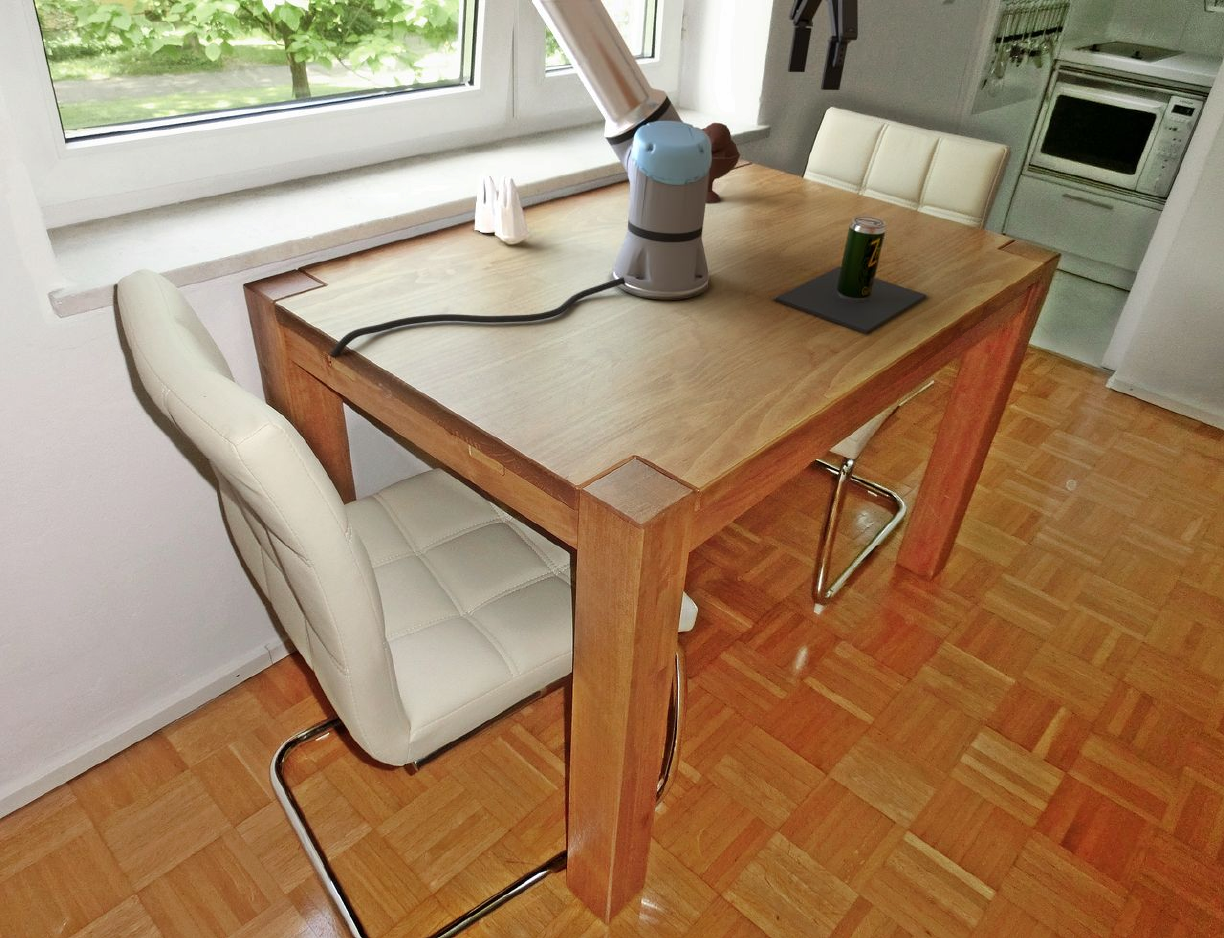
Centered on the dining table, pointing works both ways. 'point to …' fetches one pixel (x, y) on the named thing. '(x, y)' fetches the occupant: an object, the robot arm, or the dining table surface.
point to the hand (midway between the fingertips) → (812, 80)
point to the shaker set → (500, 211)
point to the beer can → (860, 258)
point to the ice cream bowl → (720, 156)
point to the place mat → (850, 302)
